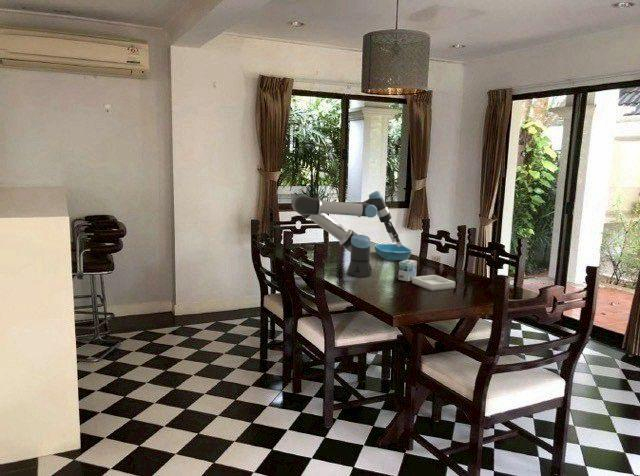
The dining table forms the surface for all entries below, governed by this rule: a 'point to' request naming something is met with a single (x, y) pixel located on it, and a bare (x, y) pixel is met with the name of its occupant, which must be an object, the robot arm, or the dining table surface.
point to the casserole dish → (392, 251)
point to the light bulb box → (407, 270)
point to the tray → (433, 282)
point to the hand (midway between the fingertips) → (397, 243)
